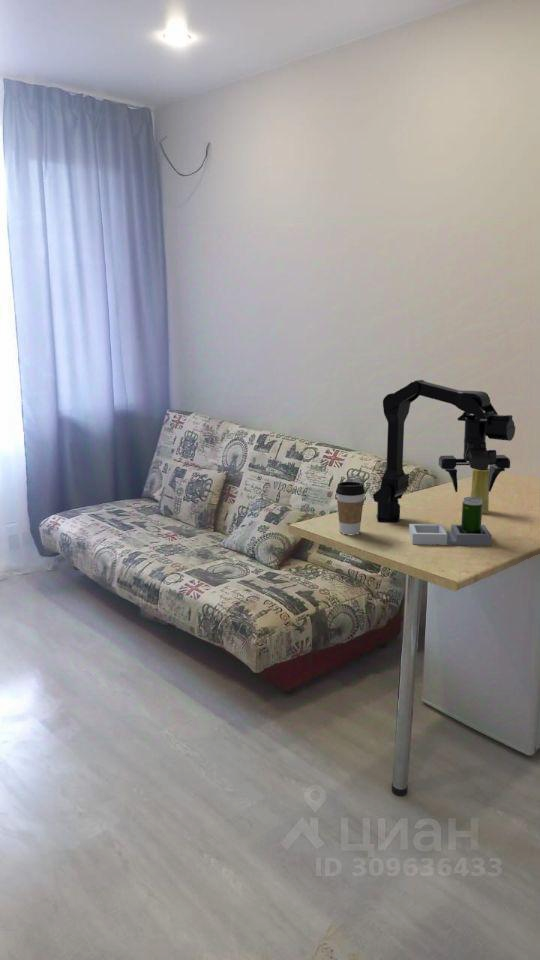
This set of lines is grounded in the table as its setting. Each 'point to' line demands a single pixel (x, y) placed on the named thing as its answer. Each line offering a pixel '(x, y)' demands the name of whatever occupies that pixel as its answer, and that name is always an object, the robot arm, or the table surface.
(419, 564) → the table surface
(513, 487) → the table surface
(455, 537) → the grey double square frame
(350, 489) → the coffee cup
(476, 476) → the vase
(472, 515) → the beer can
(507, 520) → the table surface
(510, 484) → the table surface
